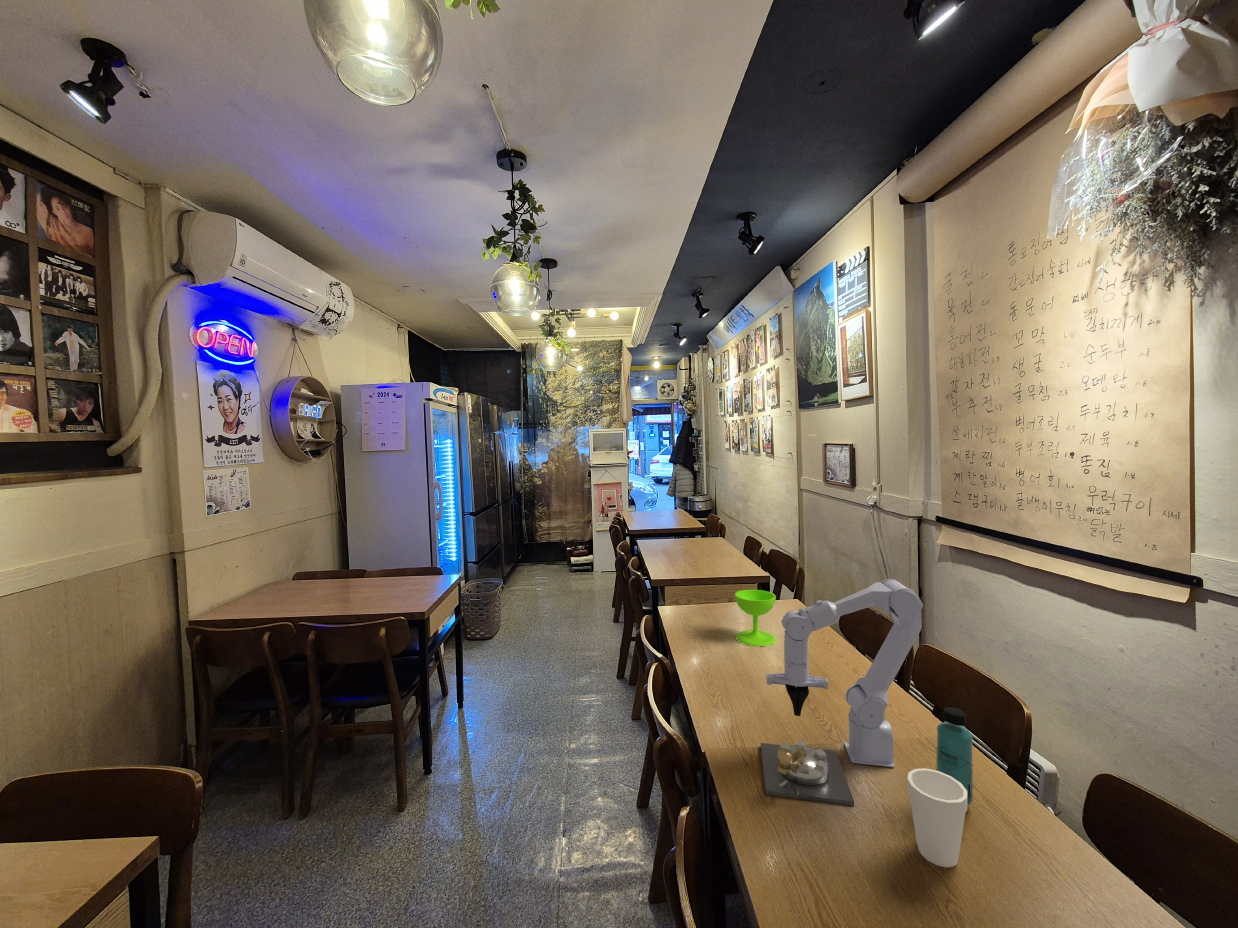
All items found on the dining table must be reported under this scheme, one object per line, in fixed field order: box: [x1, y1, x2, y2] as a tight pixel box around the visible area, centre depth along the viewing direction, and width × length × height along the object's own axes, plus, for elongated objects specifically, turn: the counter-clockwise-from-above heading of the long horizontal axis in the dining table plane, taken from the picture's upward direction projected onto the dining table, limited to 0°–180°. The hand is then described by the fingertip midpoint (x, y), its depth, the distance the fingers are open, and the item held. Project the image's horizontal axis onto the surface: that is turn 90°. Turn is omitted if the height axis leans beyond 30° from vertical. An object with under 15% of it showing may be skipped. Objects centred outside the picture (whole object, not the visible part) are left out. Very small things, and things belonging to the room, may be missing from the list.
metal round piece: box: [778, 740, 828, 785], centre depth 112 cm, size 15×11×7 cm
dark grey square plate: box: [760, 742, 855, 807], centre depth 114 cm, size 18×18×1 cm
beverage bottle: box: [935, 706, 974, 807], centre depth 103 cm, size 6×7×20 cm
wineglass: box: [734, 589, 777, 647], centre depth 196 cm, size 16×16×18 cm
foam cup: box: [906, 767, 968, 868], centre depth 90 cm, size 10×9×13 cm
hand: (797, 713), depth 122 cm, fingers closed
